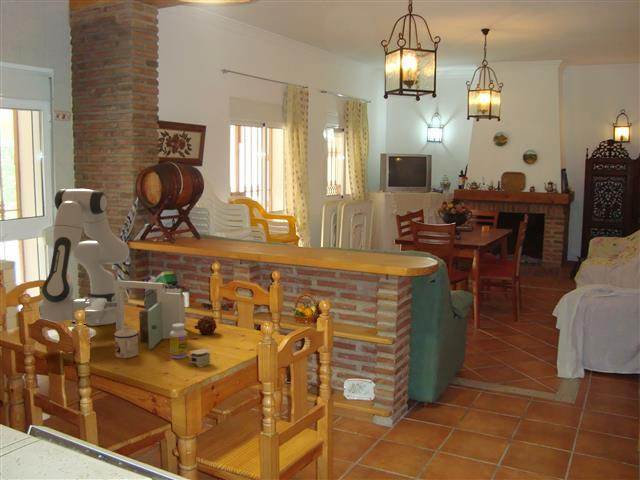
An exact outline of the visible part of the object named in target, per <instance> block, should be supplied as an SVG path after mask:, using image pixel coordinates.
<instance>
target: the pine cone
mask: <svg viewBox="0 0 640 480" xmlns="http://www.w3.org/2000/svg"><path fill="white" fill-rule="evenodd" d="M217 327H218V326H217V324H216V320H215V319H214V318H213V317H211V316H208V315H204V317H202V318H199V319H198V321H197V322H196V324H195V325H194V329H195V330H198V332H199V333H200V334H201V335H203V334H204V335H207V336H208V335H209V336H210V335H211V334H212V333H214V332H215V331H216V329H217Z"/></svg>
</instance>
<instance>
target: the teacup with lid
mask: <svg viewBox="0 0 640 480" xmlns="http://www.w3.org/2000/svg"><path fill="white" fill-rule="evenodd" d="M138 335H139V332H138V330H135V329H132V328H130V327H129V326H128V325H124V327H123V329H121V330H120V331H117V332H116V331H115V332H114V334H113V336H114V350H115V351H114V352H115V357H116V358H118V359H130V358H134V357H136V356H137V355H139V340H138V339H139V337H138Z"/></svg>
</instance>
